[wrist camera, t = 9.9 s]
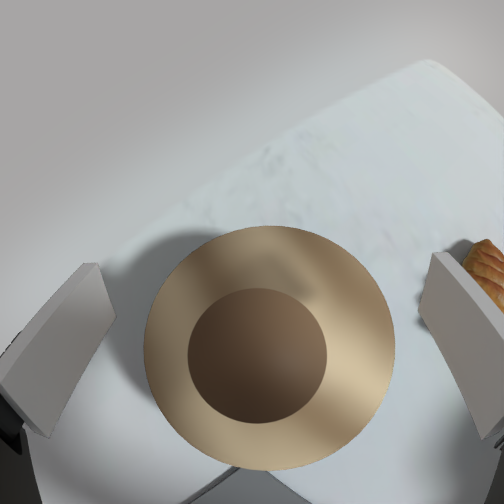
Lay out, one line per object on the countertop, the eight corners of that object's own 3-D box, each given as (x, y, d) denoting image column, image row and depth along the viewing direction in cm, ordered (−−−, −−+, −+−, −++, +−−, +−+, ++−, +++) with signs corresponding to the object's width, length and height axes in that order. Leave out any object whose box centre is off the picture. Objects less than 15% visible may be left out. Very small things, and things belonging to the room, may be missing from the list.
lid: (265, 190, 19) (253, 63, 10) (430, 336, 15) (550, 313, 6) (110, 343, 17) (-14, 324, 7) (268, 502, 13) (256, 614, 3)
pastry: (456, 233, 22) (478, 216, 18) (505, 263, 20) (529, 251, 17) (430, 334, 19) (456, 330, 16) (485, 359, 18) (512, 357, 14)
